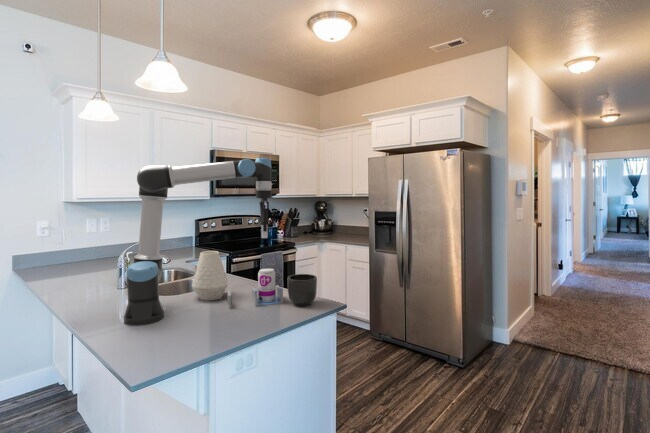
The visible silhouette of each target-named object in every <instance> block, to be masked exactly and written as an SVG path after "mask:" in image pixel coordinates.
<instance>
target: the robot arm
mask: <svg viewBox="0 0 650 433" xmlns="http://www.w3.org/2000/svg"><path fill="white" fill-rule="evenodd" d="M272 169H273V167H272V160H271V159H270V158H268V157H257V158H255V161H253V160H251V159H250V158H243V159H238V160H237V159H236V160H229V161H228V160H227V161H221V162H220V161H219V162H207V163H200V164H190V165H181V166H180V165H179V166H171V165H170V164H167V165H166V164H165V165H154V164H153V165H152V164H150V165H145V166H143V167H142V168H141V169H140V170H139V171H138V173H137V175H136V181H137V185H138V186H139V189H138V196H139V197H140V199H141V200H142V201H141V212H140V227H139V238H138V239H139V240H138V253H137V254H136V255H135V256H133V263H131V264H129V265H128V266H127V268H126V274H125V275H126V281H127V282H126V283H127V306H126V308H125V312H124V316H123V323H124V324H125V325H127V326H142V325H143V326H144V325H149V324H154V323H156V322H159V321H161V320H163V319H164V318H165V311H164V308H163V306H162V303H161V301H160V292H159V290H160V287H159V286H160V285H159V282H160V280H161V279H162V276H163V256H162V255H161V254H160V249H161V235H162V224H163V208H164V201H166V200H167V199H168V193H169V192H168V190H169V189H174V187H175V186H178V185H186V184H193V183H202V182H211V181H218V180H219V181H220V180H228V179H241V178H244V179H246V178H249V179H251V178H252V179H255V190H256V192H255V194H256V196H255V197H256V198H257V199H260V201H259V207H260V208H259V209H260V210H259V211H260V212H259V213H260V225H261V239H268V235H269V234H268V233H269V232H268V230H269V229H268V226H269V208H270V205H269V204H270V202H269V201H268V199H271V198H273V194H272V193H273V192H272V186H273V183H272Z"/></svg>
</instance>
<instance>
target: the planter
mask: <svg viewBox="0 0 650 433" xmlns="http://www.w3.org/2000/svg"><path fill="white" fill-rule="evenodd" d="M286 280H287V281H286V282H287V295H288V298H289V301H290V302H291V303H293V305H294V306H296V307H308V306H310V305H311V304H312V303H313V302H314V301H315V299H316V297H317V288H318V277H317V276H316V275H315V274H309V273H297V274H291V275H288V277H287V279H286Z"/></svg>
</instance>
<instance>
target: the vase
mask: <svg viewBox="0 0 650 433" xmlns="http://www.w3.org/2000/svg"><path fill="white" fill-rule="evenodd" d="M223 264H224V263H223V261H222V258H221V256H220V252H219V251H218V250H208V251H207V250H206V251H205V250H204V251H201V252H200V253H199V257H198V262H197V265H196V270H195V272H194V277H193V281H192V284H191V288H192V289H193V291H194V292H195V294H196V296H197V297H198V299H199V300H200V299H201V301H208V302H209V301H215V300H216V301H217V300H220V299H222V298H223V296H224V293H225V292H226V291H227V288H228V286H229V281H228V277H227V273H226V271H225V268H224V265H223Z"/></svg>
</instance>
